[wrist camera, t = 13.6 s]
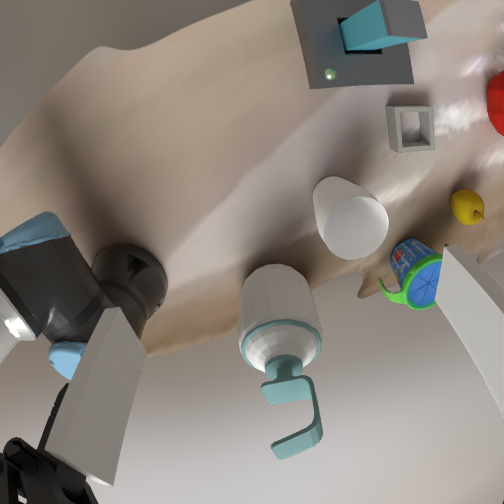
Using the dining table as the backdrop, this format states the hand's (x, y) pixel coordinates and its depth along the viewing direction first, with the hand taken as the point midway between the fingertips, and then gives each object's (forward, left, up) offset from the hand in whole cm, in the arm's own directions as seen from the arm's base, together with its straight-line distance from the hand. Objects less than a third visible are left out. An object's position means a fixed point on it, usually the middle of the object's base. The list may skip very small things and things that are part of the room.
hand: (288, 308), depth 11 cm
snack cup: (+24, -24, -35) cm, 49 cm away
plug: (+16, +14, -34) cm, 40 cm away
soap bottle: (-2, -25, -35) cm, 43 cm away
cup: (+10, -10, -35) cm, 38 cm away
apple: (+35, -14, -35) cm, 51 cm away
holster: (+24, 0, -35) cm, 42 cm away
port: (+16, +14, -35) cm, 41 cm away
